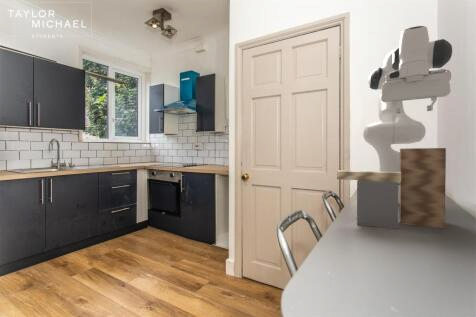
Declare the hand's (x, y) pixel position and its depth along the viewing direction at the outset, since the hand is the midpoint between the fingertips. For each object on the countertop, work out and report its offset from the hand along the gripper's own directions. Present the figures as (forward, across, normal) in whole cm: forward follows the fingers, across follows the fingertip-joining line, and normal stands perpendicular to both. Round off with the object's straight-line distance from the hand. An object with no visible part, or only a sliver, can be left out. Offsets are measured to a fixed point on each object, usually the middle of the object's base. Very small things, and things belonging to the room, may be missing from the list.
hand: (413, 112), depth 90 cm
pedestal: (+39, -2, +2) cm, 39 cm away
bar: (+24, +14, +10) cm, 30 cm away
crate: (+39, +11, +10) cm, 42 cm away
